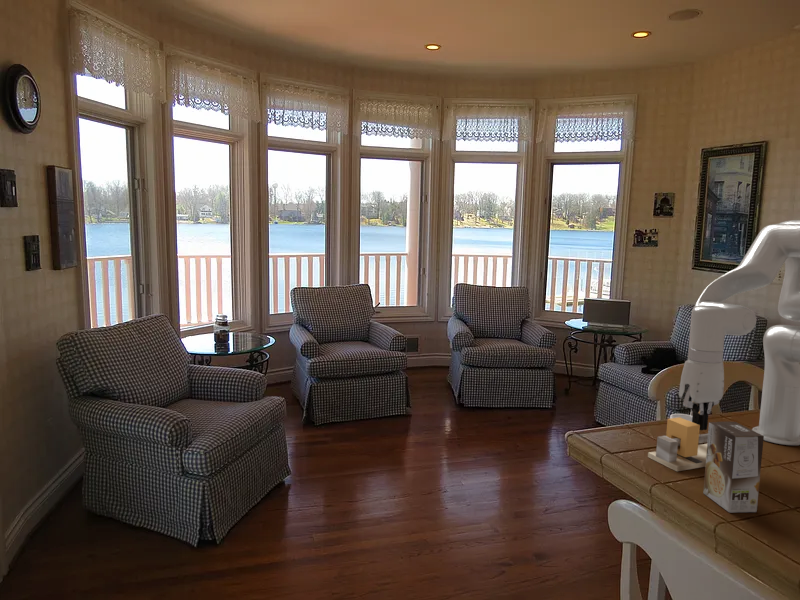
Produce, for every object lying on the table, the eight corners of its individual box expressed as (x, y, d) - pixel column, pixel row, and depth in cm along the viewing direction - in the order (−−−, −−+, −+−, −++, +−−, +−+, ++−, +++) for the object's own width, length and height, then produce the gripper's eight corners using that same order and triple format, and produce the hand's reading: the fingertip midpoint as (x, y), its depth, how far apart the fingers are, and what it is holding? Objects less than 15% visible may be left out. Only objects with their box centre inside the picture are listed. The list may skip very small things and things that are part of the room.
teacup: (667, 430, 163) (669, 412, 162) (697, 434, 160) (699, 416, 160) (669, 442, 154) (671, 422, 153) (701, 446, 151) (703, 426, 150)
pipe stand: (707, 447, 150) (709, 425, 149) (738, 460, 142) (740, 436, 141) (647, 457, 143) (649, 433, 142) (676, 471, 135) (678, 446, 134)
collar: (677, 446, 144) (679, 417, 143) (697, 455, 139) (699, 425, 138) (665, 448, 143) (667, 418, 142) (684, 457, 137) (687, 426, 136)
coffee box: (758, 512, 115) (766, 436, 113) (728, 513, 115) (736, 436, 113) (729, 492, 124) (735, 420, 122) (701, 492, 124) (707, 421, 122)
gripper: (714, 351, 146) (708, 420, 148) (669, 354, 141) (664, 426, 143) (741, 357, 139) (734, 430, 141) (695, 361, 134) (688, 437, 136)
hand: (699, 428), depth 142 cm, fingers closed
